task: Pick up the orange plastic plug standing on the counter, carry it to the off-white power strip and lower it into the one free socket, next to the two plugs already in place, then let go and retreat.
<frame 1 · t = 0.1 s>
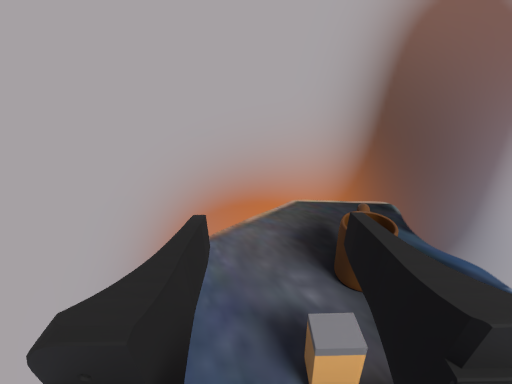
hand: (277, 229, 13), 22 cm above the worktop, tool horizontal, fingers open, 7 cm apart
plug: (328, 373, 26), on the worktop
mug: (357, 266, 41), on the worktop
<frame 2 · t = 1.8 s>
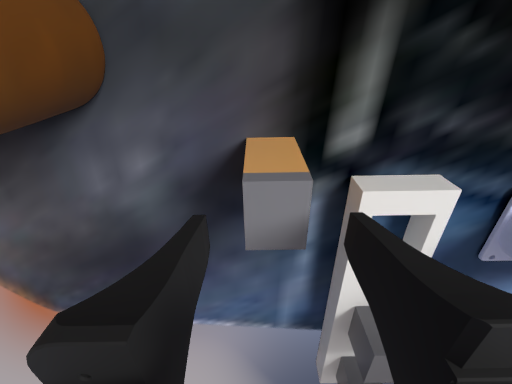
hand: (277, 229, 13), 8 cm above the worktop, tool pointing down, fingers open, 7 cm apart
plug: (270, 165, 20), on the worktop
mug: (10, 33, 15), on the worktop
pdu strip: (361, 292, 27), on the worktop
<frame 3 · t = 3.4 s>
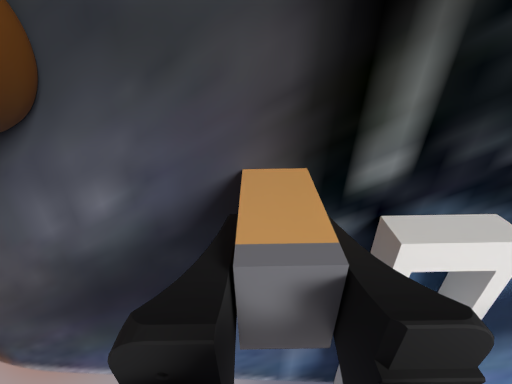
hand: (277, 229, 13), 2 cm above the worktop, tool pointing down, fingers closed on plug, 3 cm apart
plug: (273, 203, 15), on the worktop, touching gripper
pdu strip: (383, 344, 22), on the worktop
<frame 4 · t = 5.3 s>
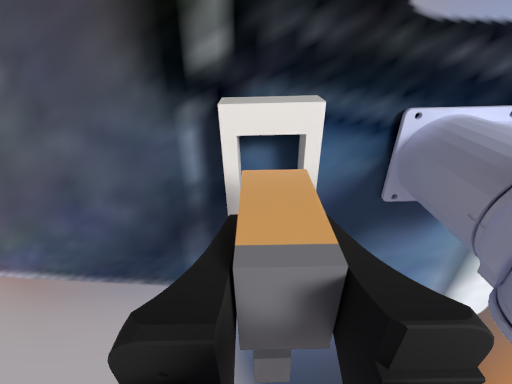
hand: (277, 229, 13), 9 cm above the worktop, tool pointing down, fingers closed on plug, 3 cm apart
plug: (273, 204, 15), point 7 cm above the worktop, touching gripper
pdu strip: (268, 242, 25), on the worktop
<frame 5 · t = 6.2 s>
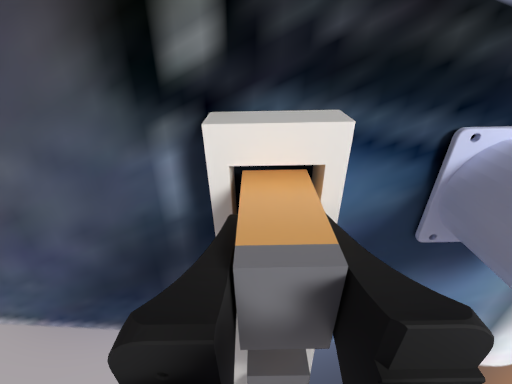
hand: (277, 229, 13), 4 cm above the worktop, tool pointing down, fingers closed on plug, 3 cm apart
plug: (273, 204, 15), point 1 cm above the worktop, touching gripper
pdu strip: (271, 286, 21), on the worktop
when the fingers open (3 cm above the worktop, at t = 7.1 s): plug stays where it is, resting in pdu strip.
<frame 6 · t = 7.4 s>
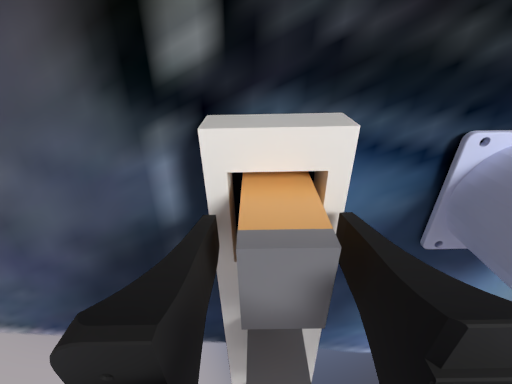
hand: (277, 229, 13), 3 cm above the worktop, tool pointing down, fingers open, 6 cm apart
plug: (273, 197, 15), resting in pdu strip
pdu strip: (271, 294, 20), on the worktop
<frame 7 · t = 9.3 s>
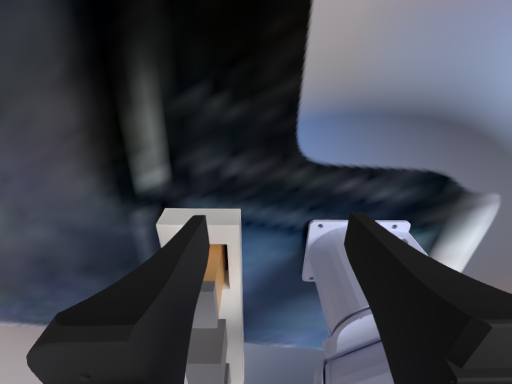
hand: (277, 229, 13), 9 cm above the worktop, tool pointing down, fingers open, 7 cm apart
plug: (207, 249, 26), resting in pdu strip
pdu strip: (213, 306, 30), on the worktop
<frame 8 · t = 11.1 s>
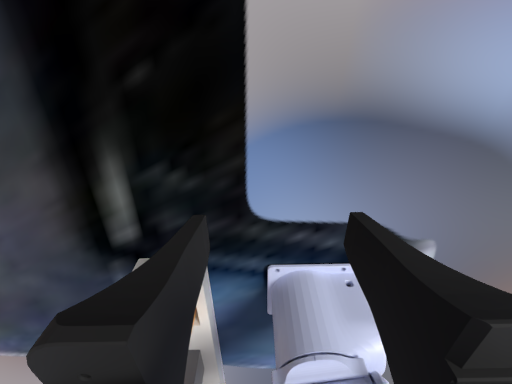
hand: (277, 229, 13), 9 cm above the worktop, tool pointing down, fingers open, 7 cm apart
pdu strip: (191, 335, 33), on the worktop
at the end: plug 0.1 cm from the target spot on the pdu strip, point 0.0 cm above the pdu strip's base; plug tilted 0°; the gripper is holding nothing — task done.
